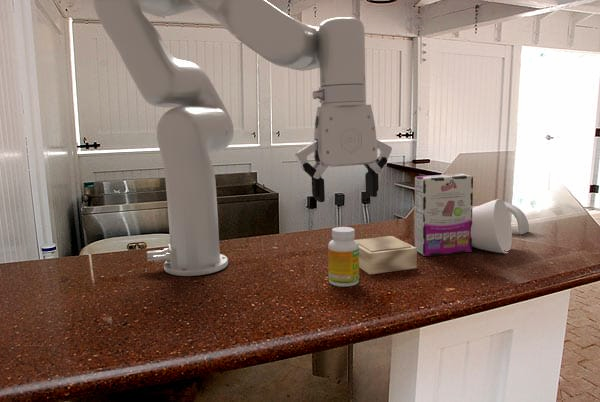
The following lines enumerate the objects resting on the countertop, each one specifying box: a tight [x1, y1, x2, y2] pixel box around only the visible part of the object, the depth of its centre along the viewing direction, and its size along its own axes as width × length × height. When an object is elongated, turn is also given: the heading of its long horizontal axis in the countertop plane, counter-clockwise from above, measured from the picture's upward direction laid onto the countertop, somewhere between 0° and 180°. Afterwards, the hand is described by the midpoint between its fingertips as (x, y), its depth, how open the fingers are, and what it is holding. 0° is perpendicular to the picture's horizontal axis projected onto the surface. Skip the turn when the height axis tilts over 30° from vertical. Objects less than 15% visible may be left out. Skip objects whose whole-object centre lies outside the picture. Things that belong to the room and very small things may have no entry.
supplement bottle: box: [327, 226, 360, 288], centre depth 85 cm, size 5×5×10 cm
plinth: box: [355, 235, 418, 275], centre depth 96 cm, size 10×10×4 cm
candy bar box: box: [414, 173, 474, 257], centre depth 102 cm, size 11×5×16 cm, turn 102°
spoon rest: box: [472, 201, 530, 235], centre depth 124 cm, size 24×12×7 cm, turn 47°
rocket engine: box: [471, 198, 513, 254], centre depth 107 cm, size 12×12×18 cm
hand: (345, 198), depth 83 cm, fingers open, 9 cm apart
